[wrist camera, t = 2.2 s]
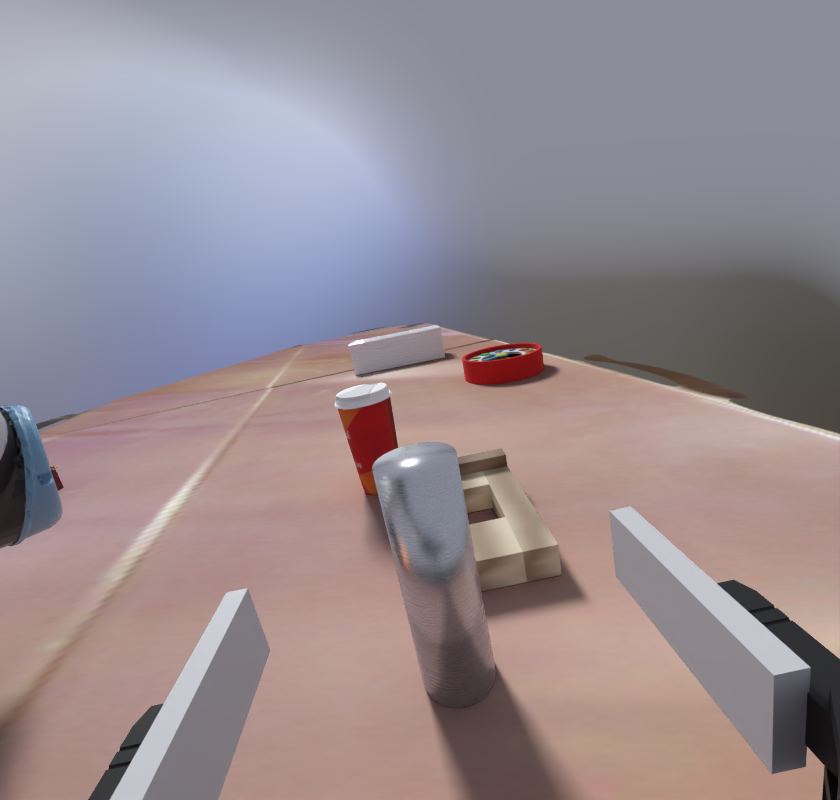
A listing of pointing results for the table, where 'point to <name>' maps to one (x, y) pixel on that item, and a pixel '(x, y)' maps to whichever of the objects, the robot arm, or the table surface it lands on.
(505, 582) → the frame
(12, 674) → the table surface
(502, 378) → the toy clock
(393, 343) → the stack of papers
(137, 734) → the robot arm
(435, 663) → the brushed metal cylinder
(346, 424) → the paper cup
